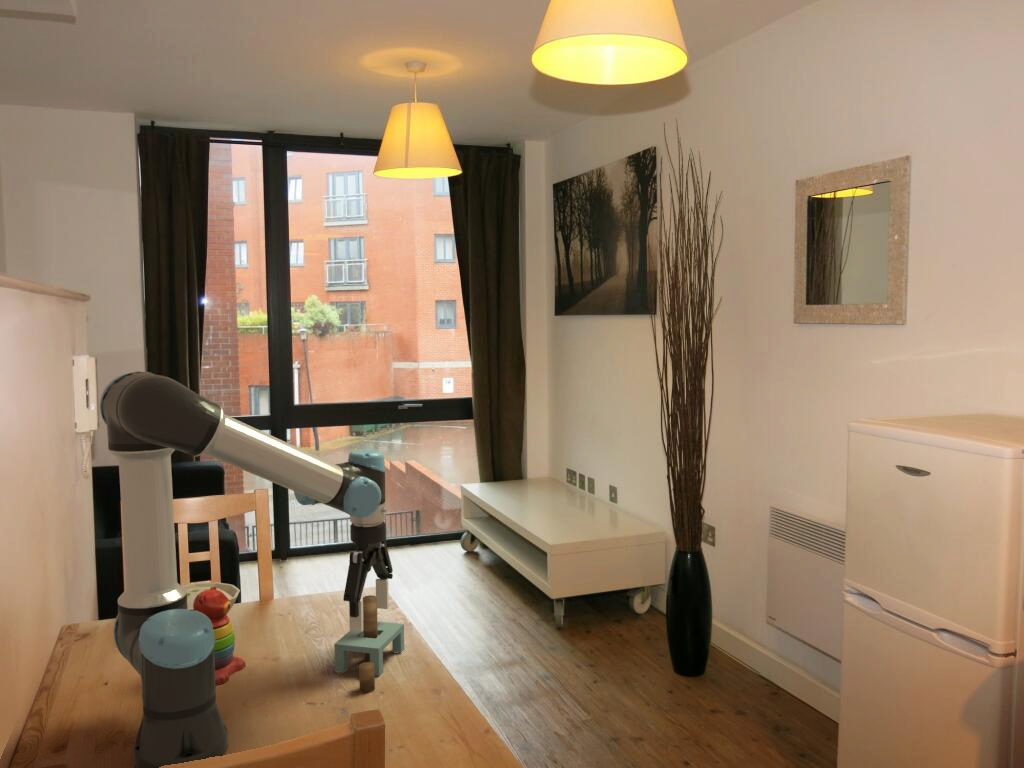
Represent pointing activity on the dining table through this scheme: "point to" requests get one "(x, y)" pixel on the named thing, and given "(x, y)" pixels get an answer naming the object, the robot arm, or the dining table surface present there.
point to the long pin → (370, 620)
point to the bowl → (197, 588)
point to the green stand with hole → (369, 645)
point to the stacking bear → (220, 632)
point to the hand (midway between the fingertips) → (369, 619)
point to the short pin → (367, 677)
